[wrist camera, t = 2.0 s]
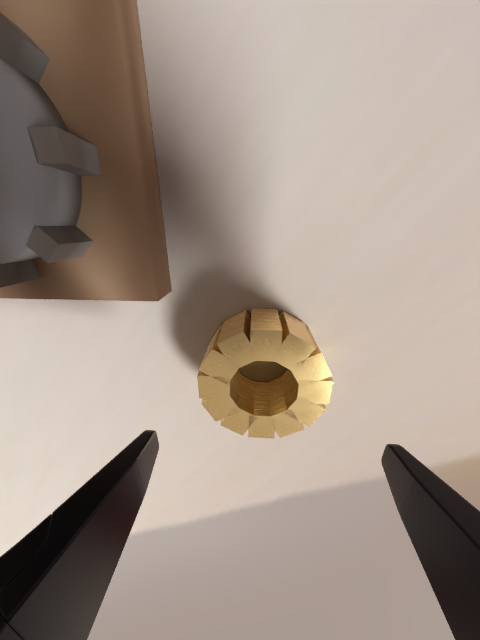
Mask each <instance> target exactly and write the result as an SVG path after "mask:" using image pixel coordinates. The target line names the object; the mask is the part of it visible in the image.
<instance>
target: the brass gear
mask: <svg viewBox="0 0 480 640" xmlns="http://www.w3.org/2000/svg"><path fill="white" fill-rule="evenodd" d="M254 361H273V362H276V363H278V364H280V365H282V366H284V367H286V368H287V370H286V371H285V373H284V374H283V375H282V376H281V377H279V378H277V379H275V380H272V381H270V382H254V381H252V380H250V379H248V378H246V377H244V376H243V375H241V373H240V372H239V370H238V369H239V368H240V367H243V366H245V365H247V364H249V363H252V362H254ZM331 376H332V374H331V372H330V370H329V368H328V366H327V364H326V362H325V360H324V358H323V356H322V354H321V352H320V350H319V348H318V346H317V344H316V342H315V340H314V338H313V336H312V334H311V332H310V330H309V328H308V327H306V326H305V324H304V323H303V322H302V321H300V320H298V319H296V318H295V317H293V316H291V315H290V314H288V313H286V312H284V311H282V313H281V314H280V316H279V315H278V311H277V309H252V312H251V318H250V316H249V314H248V313H247V311H246V310H245V311H243V312H241V313H239V314H237V315H235V316H233V317H231V318H229V319H227V320H225V321H224V324H223V326H222V325H220V326H219V328H218V330H217V331H216V333H215V335H214V336H213V338H212V340H211V341H210V343H209V346H208V348H207V351H206V353H205V356H204V358H203V361H202V363H201V366H200V368H199V373H198V376H197V377H198V388H199V398H203V400H202V405H203V406H204V407H205V408H206V410H207V411H208V412H209V413H210V415H211V416H212V417H213V419H214V420H215V421H218V420H221V424H220V425H221V426H224V427H226V428H228V429H230V430H232V431H234V432H236V433H238V434H240V435H242V436H243V434H244V433H245V432H246V431H247V430H248V428H249V435H248V437H257V438H274V432H275V431H276V432H277V434H278V435H279V437H280V438H281V437H284V436H286V435H289V434H292V433H295V432H298V431H301V430H304V427H303V424H305V425H307V426H310V425H311V424H312V423H313V422H314V421H315V420H316V419H317V418H318V417H319V416H320V415H321V414H322V413H323V412H324V411H325V410H326V408H325V405H324V404H329V401H330V396H331V391H332V385H333V380H332V378H331Z"/></svg>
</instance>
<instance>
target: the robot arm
mask: <svg viewBox="0 0 480 640" xmlns="http://www.w3.org/2000/svg"><path fill="white" fill-rule="evenodd" d="M158 450H159V443H158V438H157V433H156V431H154V430H146V431H144V432H143V433H142V434H140V435H139V436H138V437H137V438H136V439H135V440H134V441H133V442H131V443H130V444H129V445H128V446H127V447H126V448H125V449H124V450H122V451H121V452H120V453H119V454H118V455H117V456H116V457H115V458H113V459H112V460H111V461H110V462H109V463H108V464H107V465H105V466H104V467H103V468H102V469H101V470H100V471H99V472H98V473H96V474H95V475H94V476H93V477H92V478H91V479H90V480H89V481H87V482H86V483H85V484H84V485H83V486H82V487H81V488H80V489H78V490H77V491H76V492H75V493H74V494H73V495H72V496H71V497H69V498H68V499H67V500H66V501H65V502H64V503H63V504H62V505H60V506H59V507H58V508H57V509H56V510H55V511H54V512H53V513H52V514H50V515H49V516H48V517H47V518H46V519H44V520H43V521H42V522H41V523H40V524H39V525H38V526H37V527H35V528H34V529H33V530H32V531H31V532H30V533H28V534H27V535H26V536H25V537H24V538H23V539H21V540H20V541H19V542H18V543H17V544H16V545H14V546H13V547H12V548H11V549H9V550H8V551H7V552H6V553H4V554H3V555H2V556H1V557H0V640H87V638H88V636H89V633H90V630H91V628H92V626H93V623H94V621H95V618H96V616H97V613H98V611H99V608H100V606H101V603H102V601H103V598H104V596H105V593H106V591H107V588H108V585H109V583H110V581H111V578H112V575H113V573H114V571H115V568H116V566H117V563H118V561H119V558H120V556H121V553H122V551H123V548H124V546H125V543H126V541H127V538H128V536H129V533H130V531H131V528H132V526H133V524H134V521H135V519H136V516H137V514H138V511H139V509H140V506H141V504H142V501H143V498H144V496H145V493H146V490H147V487H148V484H149V480H150V477H151V474H152V470H153V467H154V463H155V460H156V457H157V453H158ZM382 466H383V469H384V472H385V475H386V477H387V480H388V483H389V486H390V489H391V492H392V495H393V497H394V500H395V503H396V506H397V509H398V512H399V514H400V516H401V519H402V521H403V523H404V525H405V528H406V530H407V532H408V535H409V537H410V539H411V541H412V543H413V546H414V548H415V550H416V552H417V554H418V557H419V559H420V561H421V564H422V566H423V568H424V570H425V572H426V575H427V577H428V579H429V582H430V583H431V586H432V588H433V591H434V593H435V595H436V597H437V599H438V602H439V604H440V606H441V609H442V611H443V613H444V615H445V617H446V620H447V622H448V624H449V626H450V629H451V631H452V633H453V635H454V638H455V640H480V511H479V510H477V509H476V508H475V507H474V506H473V505H471V504H470V503H469V502H468V501H467V500H465V499H464V498H463V497H462V496H461V495H459V494H458V493H457V492H456V491H454V490H453V489H452V488H451V487H450V486H449V485H447V484H446V483H445V482H444V481H443V480H441V479H440V478H439V477H438V476H437V475H435V474H434V473H433V472H432V471H431V470H429V469H428V468H427V467H426V466H425V465H423V464H422V463H421V462H420V461H418V460H417V459H416V458H415V457H414V456H412V455H411V454H410V453H409V452H408V451H406V450H405V449H404V448H403V447H402V446H400V445H397V444H387V445H386V447H385V450H384V453H383V456H382Z"/></svg>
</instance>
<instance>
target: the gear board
mask: <svg viewBox="0 0 480 640" xmlns="http://www.w3.org/2000/svg"><path fill="white" fill-rule="evenodd" d="M169 292H171V282H170V274H169V266H168V258H167V249H166V241H165V233H164V225H163V216H162V208H161V200H160V192H159V183H158V175H157V167H156V158H155V150H154V142H153V134H152V125H151V117H150V109H149V101H148V92H147V84H146V76H145V67H144V59H143V51H142V43H141V34H140V26H139V18H138V10H137V1H136V0H0V298H23V299H72V300H121V301H159V300H160V299H162V298H163V297H164V296H165V295H167V294H168V293H169Z"/></svg>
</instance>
